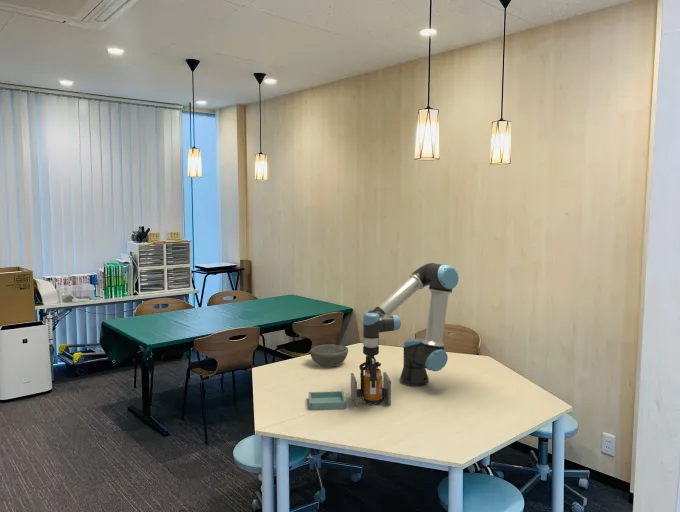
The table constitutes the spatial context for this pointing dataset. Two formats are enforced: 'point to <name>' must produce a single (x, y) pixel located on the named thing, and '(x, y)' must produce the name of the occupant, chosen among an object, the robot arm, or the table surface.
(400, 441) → the table surface
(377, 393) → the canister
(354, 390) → the dock
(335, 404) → the tray
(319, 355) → the bowl
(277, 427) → the table surface
